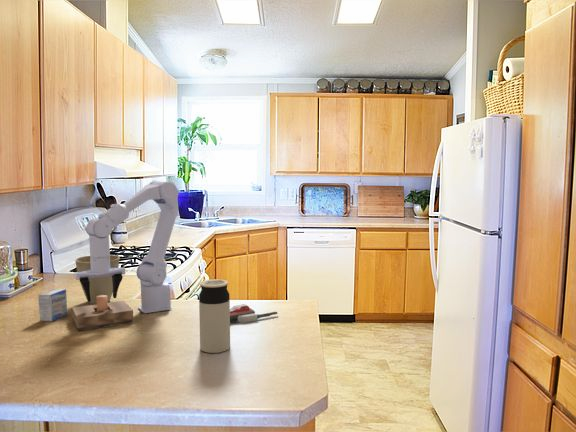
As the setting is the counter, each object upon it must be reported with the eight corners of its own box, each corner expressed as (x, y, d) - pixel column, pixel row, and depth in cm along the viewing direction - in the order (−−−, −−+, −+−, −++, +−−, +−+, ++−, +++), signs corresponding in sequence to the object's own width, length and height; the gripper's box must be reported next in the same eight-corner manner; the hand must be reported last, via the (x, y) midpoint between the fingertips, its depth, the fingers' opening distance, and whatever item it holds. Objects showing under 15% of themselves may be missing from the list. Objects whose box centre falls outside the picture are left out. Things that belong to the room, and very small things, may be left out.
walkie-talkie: (222, 328, 148) (279, 317, 158) (222, 314, 147) (278, 304, 158) (210, 320, 155) (265, 311, 166) (210, 307, 155) (265, 298, 165)
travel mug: (236, 347, 131) (235, 282, 129) (213, 356, 125) (212, 287, 123) (217, 340, 136) (216, 277, 134) (194, 348, 130) (192, 282, 129)
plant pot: (68, 306, 171) (66, 261, 170) (92, 295, 186) (90, 254, 184) (107, 308, 168) (105, 262, 167) (128, 297, 183) (127, 255, 182)
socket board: (124, 312, 164) (123, 300, 163) (133, 322, 152) (132, 310, 152) (72, 319, 156) (72, 307, 155) (77, 331, 144) (77, 318, 144)
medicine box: (51, 322, 154) (50, 295, 153) (39, 321, 154) (37, 294, 154) (67, 314, 161) (66, 288, 160) (55, 313, 162) (54, 288, 161)
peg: (109, 316, 156) (108, 294, 155) (106, 319, 153) (105, 297, 152) (98, 316, 155) (97, 295, 155) (95, 319, 152) (95, 297, 152)
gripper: (121, 252, 159) (123, 293, 160) (73, 256, 152) (75, 299, 153) (126, 255, 153) (127, 298, 154) (76, 260, 146) (78, 304, 147)
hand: (101, 299), depth 153 cm, fingers open, 7 cm apart
